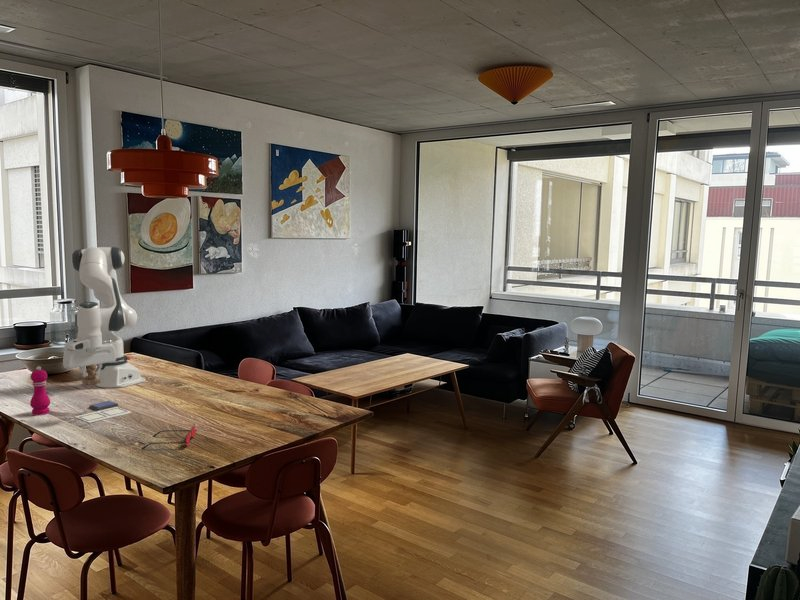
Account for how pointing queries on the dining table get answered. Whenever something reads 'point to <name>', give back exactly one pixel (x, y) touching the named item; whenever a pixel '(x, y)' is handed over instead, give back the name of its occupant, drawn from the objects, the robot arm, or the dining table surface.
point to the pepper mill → (39, 393)
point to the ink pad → (103, 405)
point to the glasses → (178, 442)
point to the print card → (102, 414)
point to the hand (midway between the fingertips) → (91, 375)
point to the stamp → (91, 376)
